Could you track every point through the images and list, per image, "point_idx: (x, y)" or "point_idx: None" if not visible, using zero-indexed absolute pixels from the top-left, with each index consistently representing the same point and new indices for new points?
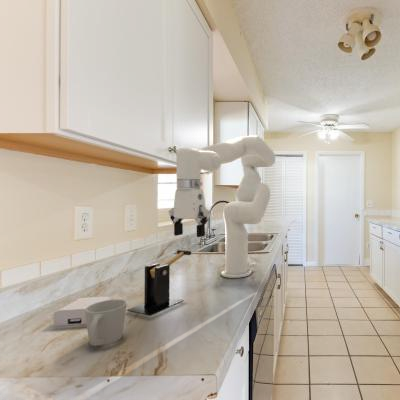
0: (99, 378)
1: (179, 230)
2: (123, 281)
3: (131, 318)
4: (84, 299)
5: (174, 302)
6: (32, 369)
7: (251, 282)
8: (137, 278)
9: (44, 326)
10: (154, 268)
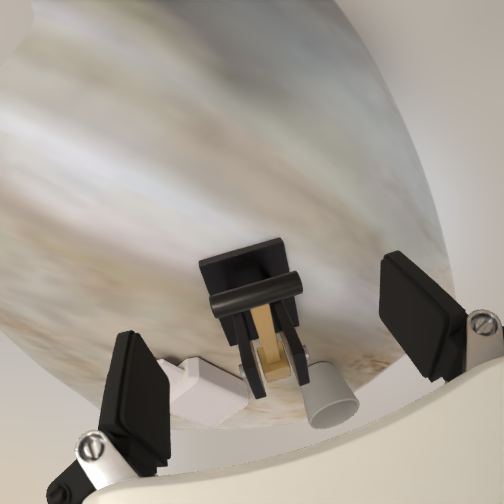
0: (375, 377)
1: (150, 386)
2: None
3: (259, 339)
4: (179, 407)
5: (278, 267)
6: (303, 413)
7: None
8: None
9: None
10: (273, 377)
